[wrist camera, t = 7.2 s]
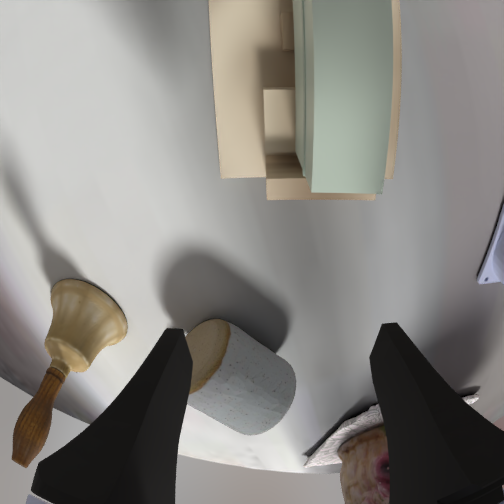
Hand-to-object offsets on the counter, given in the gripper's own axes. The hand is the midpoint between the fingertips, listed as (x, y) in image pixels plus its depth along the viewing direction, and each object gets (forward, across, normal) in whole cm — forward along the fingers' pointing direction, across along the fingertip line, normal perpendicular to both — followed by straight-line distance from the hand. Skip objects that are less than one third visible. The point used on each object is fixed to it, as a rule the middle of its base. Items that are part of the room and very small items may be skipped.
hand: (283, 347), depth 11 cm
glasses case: (+7, -2, -11) cm, 13 cm away
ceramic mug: (+10, +4, +13) cm, 17 cm away
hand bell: (+10, +17, +9) cm, 22 cm away
